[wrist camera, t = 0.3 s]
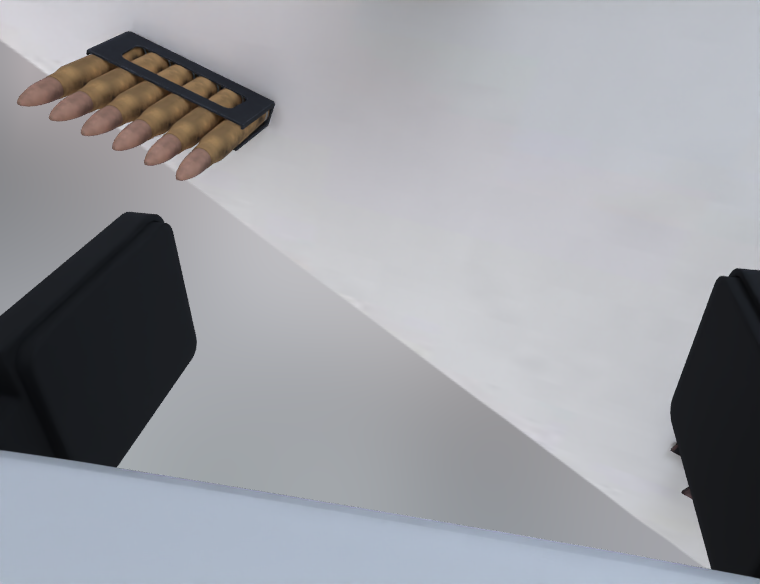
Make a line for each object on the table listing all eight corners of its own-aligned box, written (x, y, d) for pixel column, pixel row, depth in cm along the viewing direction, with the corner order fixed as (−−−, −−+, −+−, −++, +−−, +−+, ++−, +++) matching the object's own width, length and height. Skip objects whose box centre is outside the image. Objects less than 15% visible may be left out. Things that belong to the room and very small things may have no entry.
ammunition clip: (123, 56, 41) (0, 111, 32) (127, 30, 40) (1, 78, 30) (267, 126, 42) (190, 200, 32) (275, 102, 41) (198, 172, 31)
